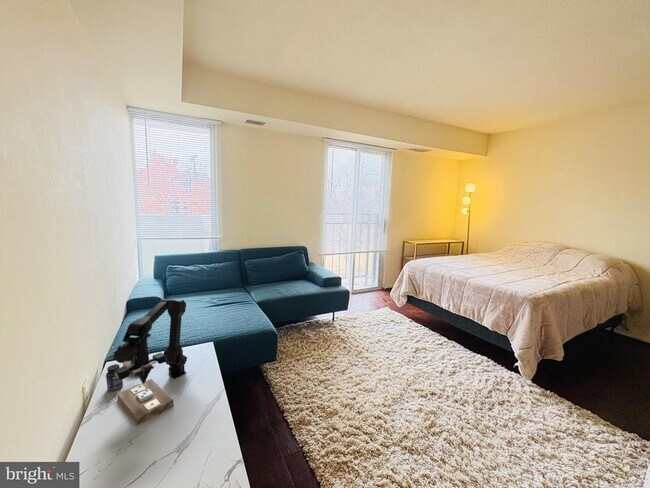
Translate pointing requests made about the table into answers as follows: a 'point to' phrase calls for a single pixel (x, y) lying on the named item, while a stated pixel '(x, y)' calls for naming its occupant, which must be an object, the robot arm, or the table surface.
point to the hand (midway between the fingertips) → (143, 383)
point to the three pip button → (144, 395)
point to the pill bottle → (113, 378)
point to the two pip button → (137, 389)
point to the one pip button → (151, 404)
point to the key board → (138, 409)
